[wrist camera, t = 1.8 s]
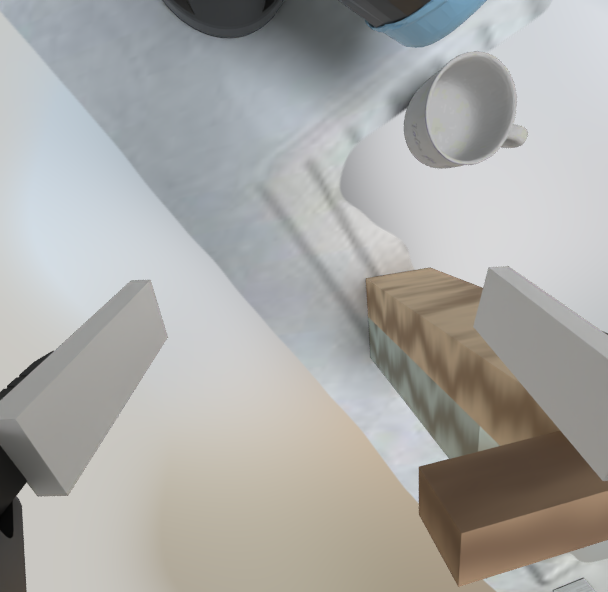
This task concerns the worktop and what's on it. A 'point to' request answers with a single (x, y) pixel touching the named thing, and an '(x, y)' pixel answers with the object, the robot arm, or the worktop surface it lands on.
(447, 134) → the teacup
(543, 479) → the rail
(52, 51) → the worktop surface
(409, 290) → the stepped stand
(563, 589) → the supplement box
